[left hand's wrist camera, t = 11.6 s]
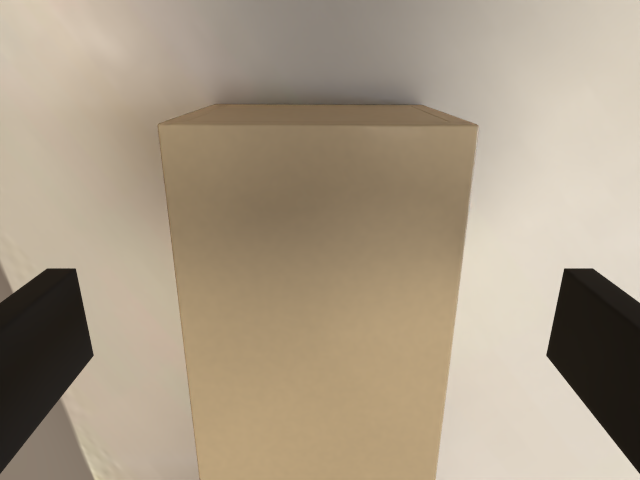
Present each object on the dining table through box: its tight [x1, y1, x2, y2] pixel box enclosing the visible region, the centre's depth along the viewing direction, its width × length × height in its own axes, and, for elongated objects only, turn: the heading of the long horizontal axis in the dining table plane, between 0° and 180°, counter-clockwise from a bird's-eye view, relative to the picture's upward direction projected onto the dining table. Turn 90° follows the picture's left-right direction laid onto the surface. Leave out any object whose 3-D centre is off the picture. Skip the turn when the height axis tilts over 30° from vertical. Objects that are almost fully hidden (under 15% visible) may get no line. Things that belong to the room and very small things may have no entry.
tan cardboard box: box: [158, 104, 479, 480], centre depth 23 cm, size 17×11×9 cm, turn 0°
